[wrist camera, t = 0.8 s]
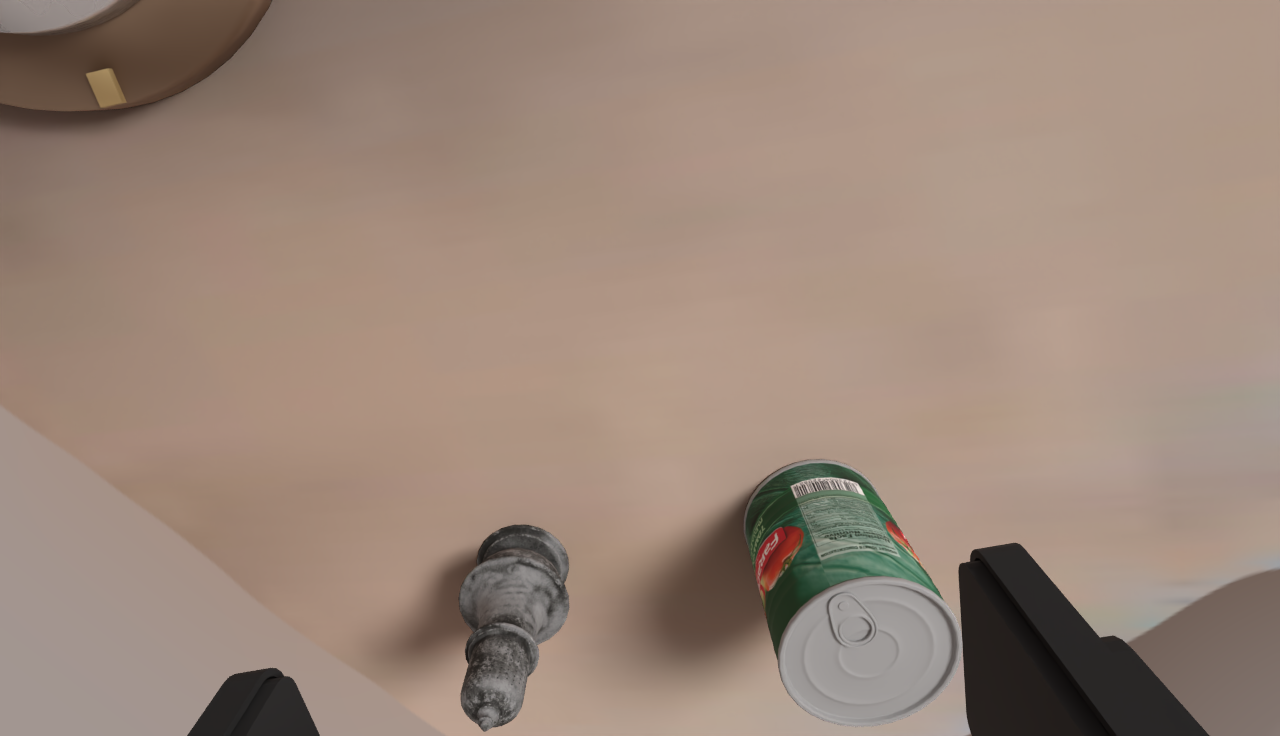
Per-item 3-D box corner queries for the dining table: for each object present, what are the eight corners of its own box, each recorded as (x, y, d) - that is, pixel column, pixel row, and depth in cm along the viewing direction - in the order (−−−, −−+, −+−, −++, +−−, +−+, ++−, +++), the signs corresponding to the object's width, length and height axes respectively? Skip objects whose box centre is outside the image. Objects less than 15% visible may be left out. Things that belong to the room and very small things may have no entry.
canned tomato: (902, 544, 43) (989, 687, 32) (777, 599, 44) (822, 753, 33) (849, 434, 40) (924, 550, 30) (719, 495, 41) (748, 627, 31)
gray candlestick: (547, 505, 42) (515, 657, 30) (590, 586, 43) (575, 757, 32) (454, 541, 42) (389, 702, 31) (500, 619, 44) (455, 798, 33)
